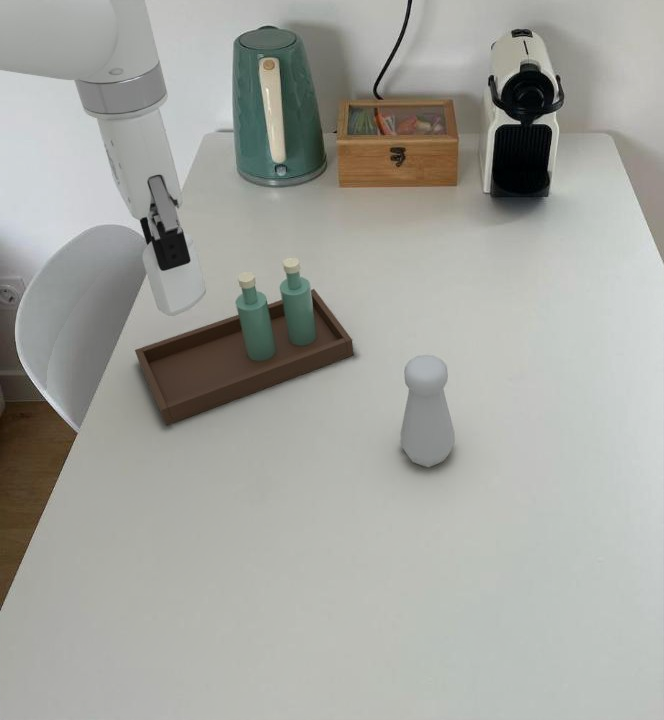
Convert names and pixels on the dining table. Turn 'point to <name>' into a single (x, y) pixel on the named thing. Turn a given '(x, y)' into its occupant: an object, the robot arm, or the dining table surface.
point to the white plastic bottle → (175, 280)
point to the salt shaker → (426, 412)
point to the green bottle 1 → (255, 319)
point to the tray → (234, 361)
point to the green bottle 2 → (297, 305)
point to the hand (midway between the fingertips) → (168, 252)
